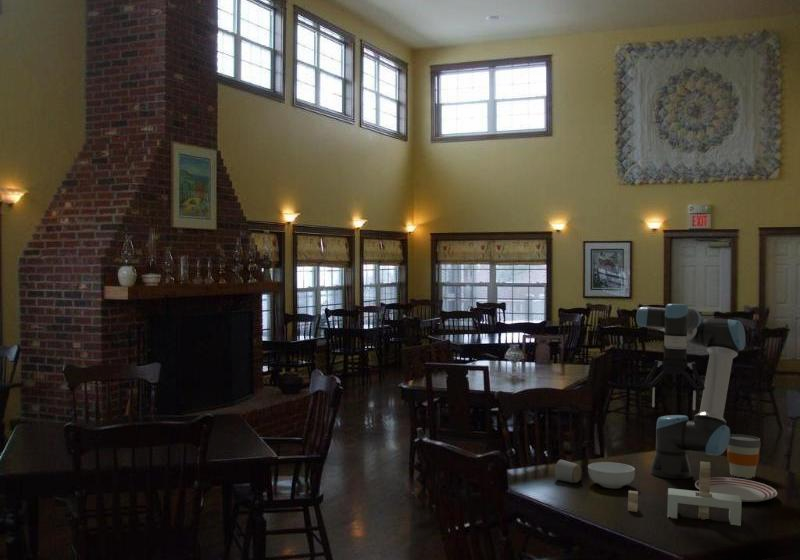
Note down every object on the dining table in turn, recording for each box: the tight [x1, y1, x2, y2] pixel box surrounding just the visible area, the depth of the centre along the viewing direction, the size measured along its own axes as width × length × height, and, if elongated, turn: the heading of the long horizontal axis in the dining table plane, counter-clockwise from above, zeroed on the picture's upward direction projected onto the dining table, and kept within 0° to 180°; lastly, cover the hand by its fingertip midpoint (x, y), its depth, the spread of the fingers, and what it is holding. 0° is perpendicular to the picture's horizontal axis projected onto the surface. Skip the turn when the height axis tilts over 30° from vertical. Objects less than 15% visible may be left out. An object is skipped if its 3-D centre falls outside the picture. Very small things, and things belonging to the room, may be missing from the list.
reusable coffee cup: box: [726, 434, 762, 479], centre depth 321 cm, size 12×13×15 cm
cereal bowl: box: [587, 461, 636, 489], centre depth 300 cm, size 17×17×7 cm
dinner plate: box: [694, 476, 778, 503], centre depth 292 cm, size 28×27×3 cm
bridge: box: [666, 487, 743, 527], centre depth 263 cm, size 8×22×8 cm, turn 72°
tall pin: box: [698, 461, 711, 520], centre depth 263 cm, size 3×3×18 cm
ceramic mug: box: [554, 459, 583, 484], centre depth 306 cm, size 11×8×8 cm
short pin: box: [627, 490, 639, 513], centre depth 270 cm, size 3×3×6 cm
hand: (673, 408), depth 286 cm, fingers open, 13 cm apart
